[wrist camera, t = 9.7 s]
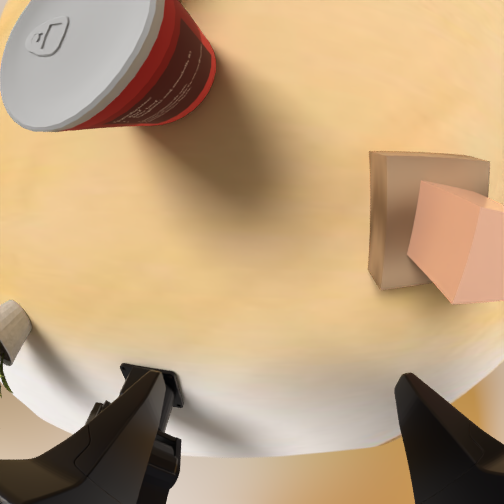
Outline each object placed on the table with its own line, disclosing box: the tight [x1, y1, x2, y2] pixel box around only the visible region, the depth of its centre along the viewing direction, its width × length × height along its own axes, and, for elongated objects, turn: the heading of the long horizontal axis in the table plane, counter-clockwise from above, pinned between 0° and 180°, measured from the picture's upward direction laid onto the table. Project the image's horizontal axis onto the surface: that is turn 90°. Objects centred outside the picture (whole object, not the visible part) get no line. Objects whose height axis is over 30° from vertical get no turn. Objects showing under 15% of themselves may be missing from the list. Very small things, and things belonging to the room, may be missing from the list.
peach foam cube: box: [407, 180, 504, 304], centre depth 13 cm, size 5×5×6 cm
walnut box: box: [368, 151, 490, 290], centre depth 17 cm, size 9×9×4 cm
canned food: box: [0, 0, 216, 132], centre depth 10 cm, size 8×8×11 cm
